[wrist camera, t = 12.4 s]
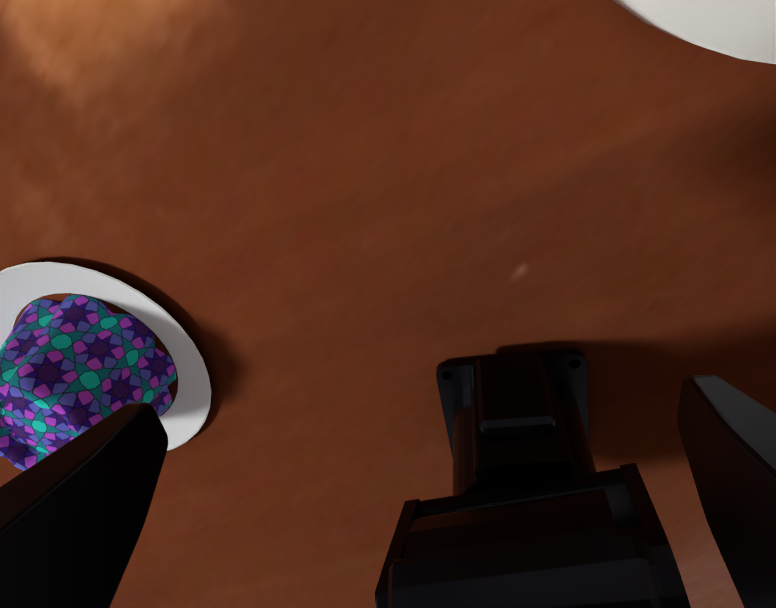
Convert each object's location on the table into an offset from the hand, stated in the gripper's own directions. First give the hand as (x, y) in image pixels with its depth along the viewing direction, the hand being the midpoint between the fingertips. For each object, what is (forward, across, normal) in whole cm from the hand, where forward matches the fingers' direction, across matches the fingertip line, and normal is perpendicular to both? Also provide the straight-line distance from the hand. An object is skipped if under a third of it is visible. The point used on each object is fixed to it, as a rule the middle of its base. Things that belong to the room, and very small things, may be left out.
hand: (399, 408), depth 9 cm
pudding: (+14, +18, +8) cm, 24 cm away
